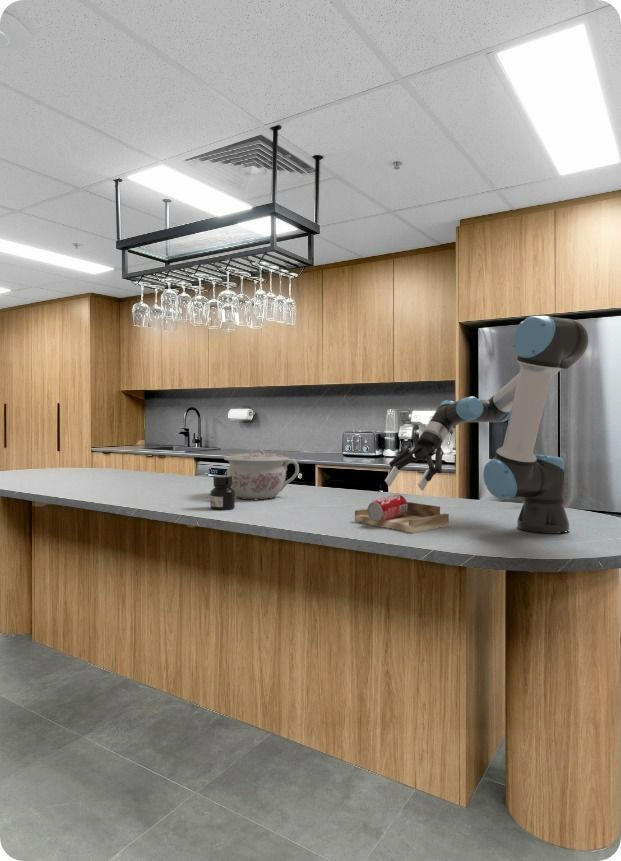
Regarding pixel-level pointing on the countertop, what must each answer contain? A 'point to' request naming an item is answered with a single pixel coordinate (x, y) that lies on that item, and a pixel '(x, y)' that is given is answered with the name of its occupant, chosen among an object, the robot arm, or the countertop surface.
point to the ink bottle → (222, 493)
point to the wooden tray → (410, 518)
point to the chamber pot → (259, 474)
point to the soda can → (387, 508)
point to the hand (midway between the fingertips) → (403, 485)
